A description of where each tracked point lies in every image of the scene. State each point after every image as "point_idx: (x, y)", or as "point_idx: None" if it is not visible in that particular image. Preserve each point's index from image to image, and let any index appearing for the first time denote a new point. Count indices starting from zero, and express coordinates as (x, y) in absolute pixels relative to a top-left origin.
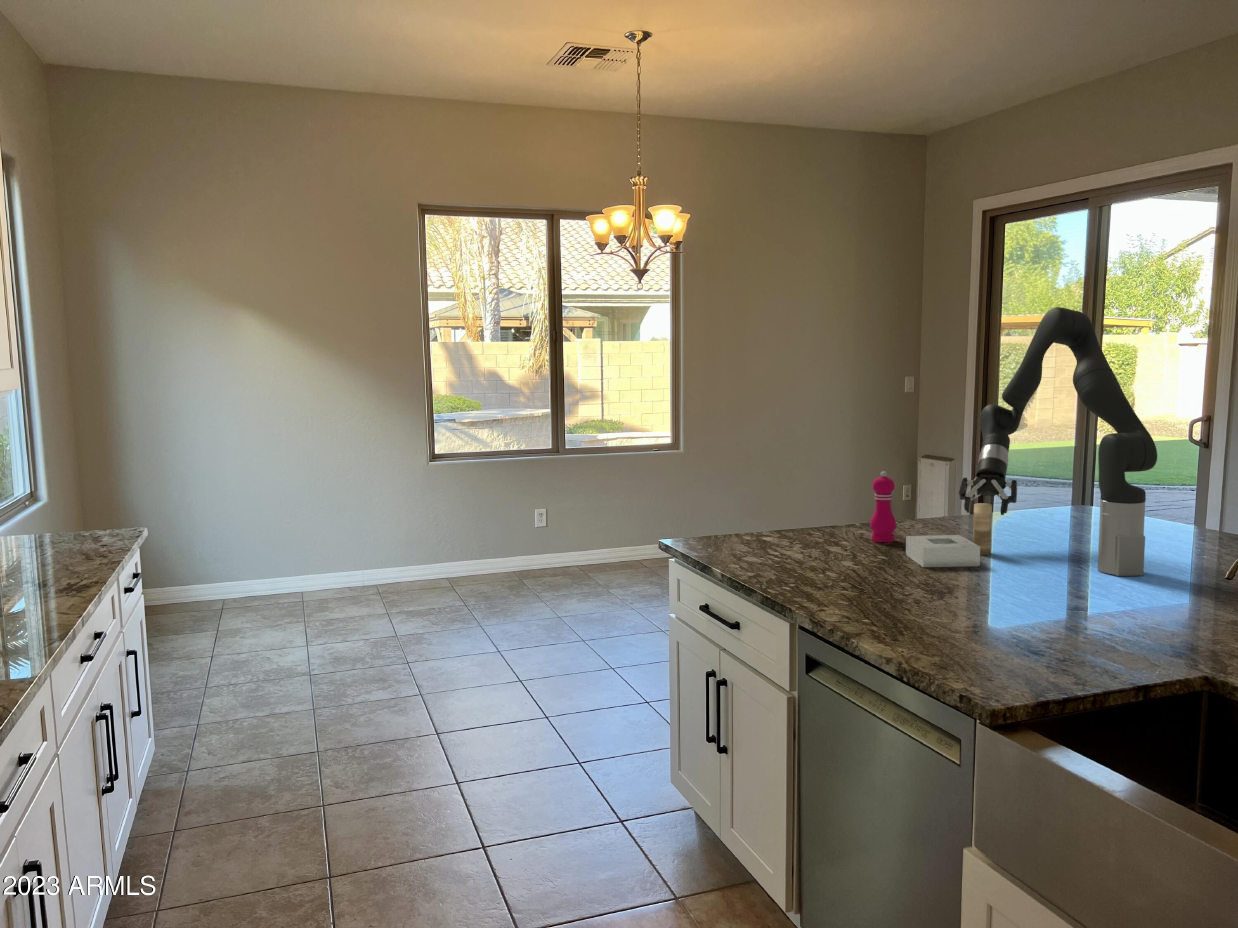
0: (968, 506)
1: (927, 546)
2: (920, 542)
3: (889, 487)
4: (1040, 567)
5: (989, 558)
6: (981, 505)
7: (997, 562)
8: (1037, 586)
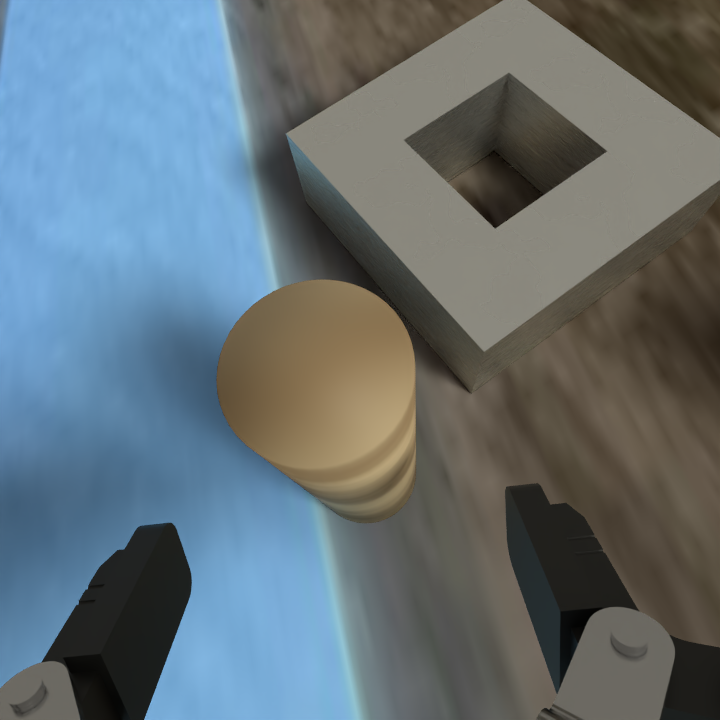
0: (521, 500)
1: (511, 18)
2: (584, 68)
3: None
4: (67, 310)
5: None
6: (317, 311)
7: (250, 304)
8: (82, 62)
